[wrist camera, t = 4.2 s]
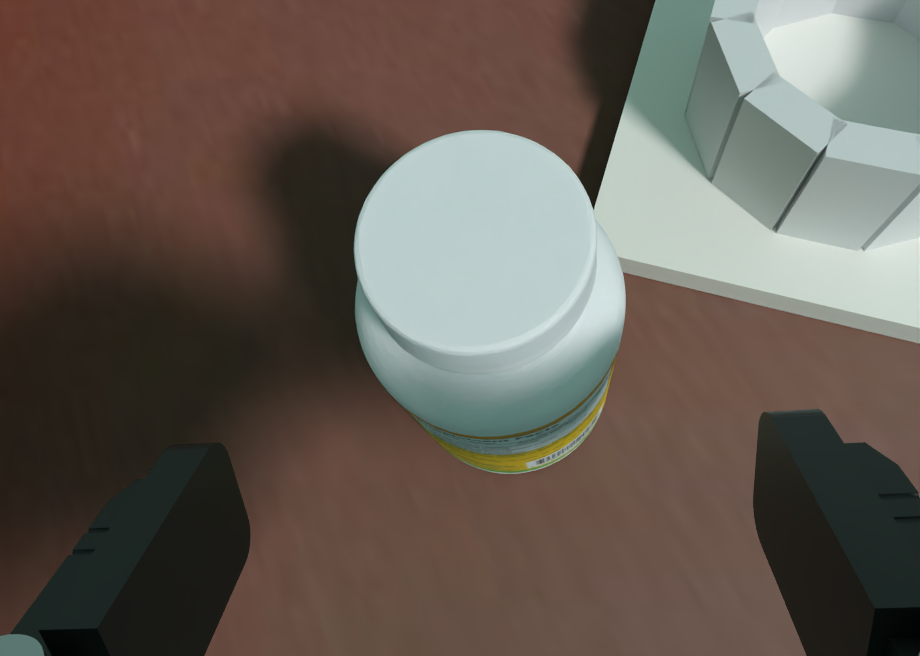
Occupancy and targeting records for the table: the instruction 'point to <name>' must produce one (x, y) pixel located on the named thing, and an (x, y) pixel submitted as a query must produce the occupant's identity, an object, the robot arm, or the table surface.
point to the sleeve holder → (775, 158)
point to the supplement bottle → (489, 298)
